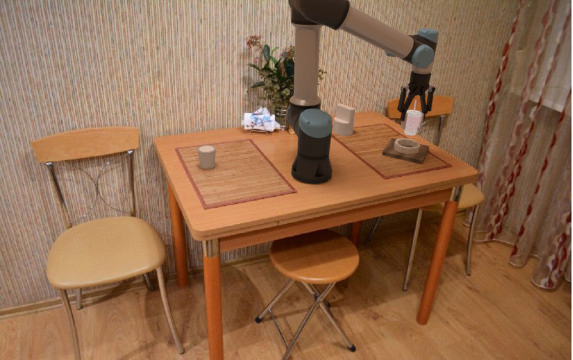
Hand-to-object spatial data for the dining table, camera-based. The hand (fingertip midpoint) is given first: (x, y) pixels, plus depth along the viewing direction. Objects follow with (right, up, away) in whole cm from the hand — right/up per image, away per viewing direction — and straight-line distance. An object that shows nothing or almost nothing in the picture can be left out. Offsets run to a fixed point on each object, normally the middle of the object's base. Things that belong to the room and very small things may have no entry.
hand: (410, 127), depth 181 cm
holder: (-1, -10, +5) cm, 11 cm away
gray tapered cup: (-80, -16, -13) cm, 83 cm away
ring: (-1, -8, +4) cm, 9 cm away
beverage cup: (0, -2, +1) cm, 3 cm away
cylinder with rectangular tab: (-25, 0, +21) cm, 33 cm away
